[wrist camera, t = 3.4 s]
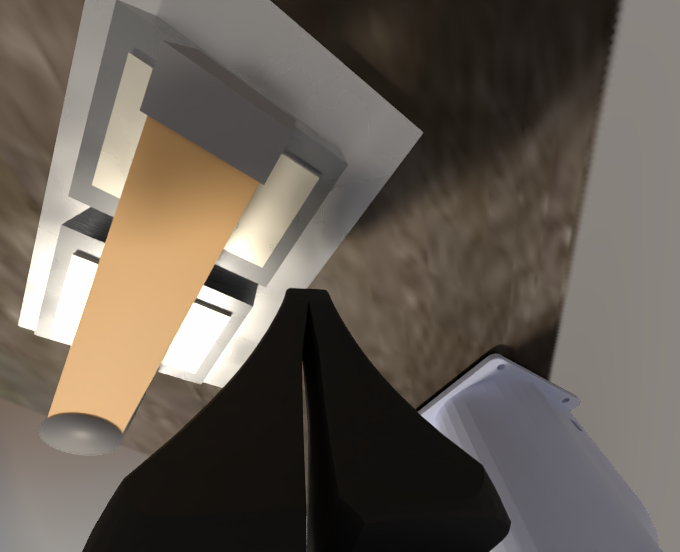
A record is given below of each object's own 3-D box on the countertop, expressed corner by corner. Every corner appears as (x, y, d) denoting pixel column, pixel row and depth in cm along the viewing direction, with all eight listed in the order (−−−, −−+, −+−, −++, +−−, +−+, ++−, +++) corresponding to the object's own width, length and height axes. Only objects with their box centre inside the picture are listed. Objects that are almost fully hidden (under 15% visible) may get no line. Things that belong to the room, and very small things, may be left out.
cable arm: (136, 411, 13) (110, 460, 11) (71, 395, 12) (32, 446, 10) (296, 120, 7) (293, 132, 6) (198, 49, 6) (161, 39, 5)
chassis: (419, 130, 11) (452, 146, 8) (232, 382, 17) (220, 433, 14) (124, -123, 7) (29, -227, 5) (27, 317, 13) (-35, 371, 11)
